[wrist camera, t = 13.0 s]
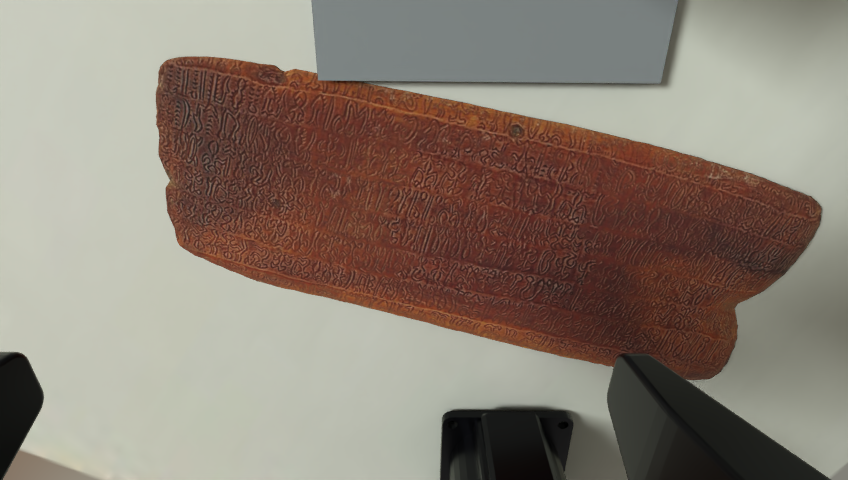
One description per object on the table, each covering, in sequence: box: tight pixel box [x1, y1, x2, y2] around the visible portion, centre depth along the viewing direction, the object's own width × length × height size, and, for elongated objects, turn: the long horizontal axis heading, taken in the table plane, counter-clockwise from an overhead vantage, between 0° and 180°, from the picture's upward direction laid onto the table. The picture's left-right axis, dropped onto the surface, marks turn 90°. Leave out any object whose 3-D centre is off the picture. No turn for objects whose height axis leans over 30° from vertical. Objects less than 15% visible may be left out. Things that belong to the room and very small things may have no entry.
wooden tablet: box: [156, 57, 821, 380], centre depth 20 cm, size 27×10×2 cm, turn 75°
